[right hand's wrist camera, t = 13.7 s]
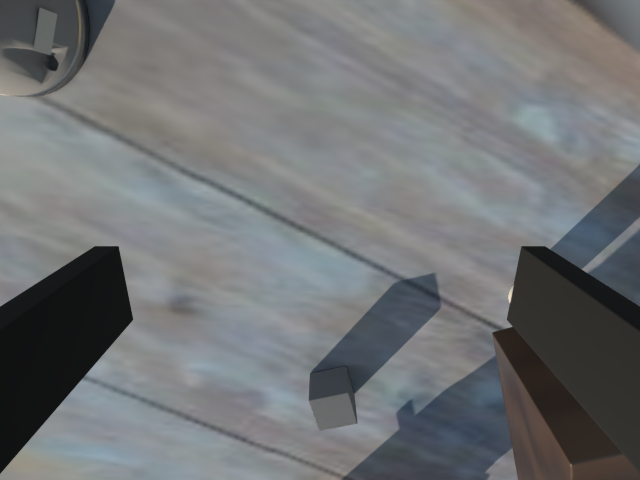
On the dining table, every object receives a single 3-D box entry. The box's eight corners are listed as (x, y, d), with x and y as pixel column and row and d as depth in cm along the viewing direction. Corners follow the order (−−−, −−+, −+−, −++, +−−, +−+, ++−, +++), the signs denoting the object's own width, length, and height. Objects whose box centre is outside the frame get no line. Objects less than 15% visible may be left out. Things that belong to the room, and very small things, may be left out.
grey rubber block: (309, 373, 50) (308, 400, 46) (346, 365, 50) (348, 392, 45) (319, 401, 52) (318, 431, 47) (354, 394, 51) (357, 423, 47)
